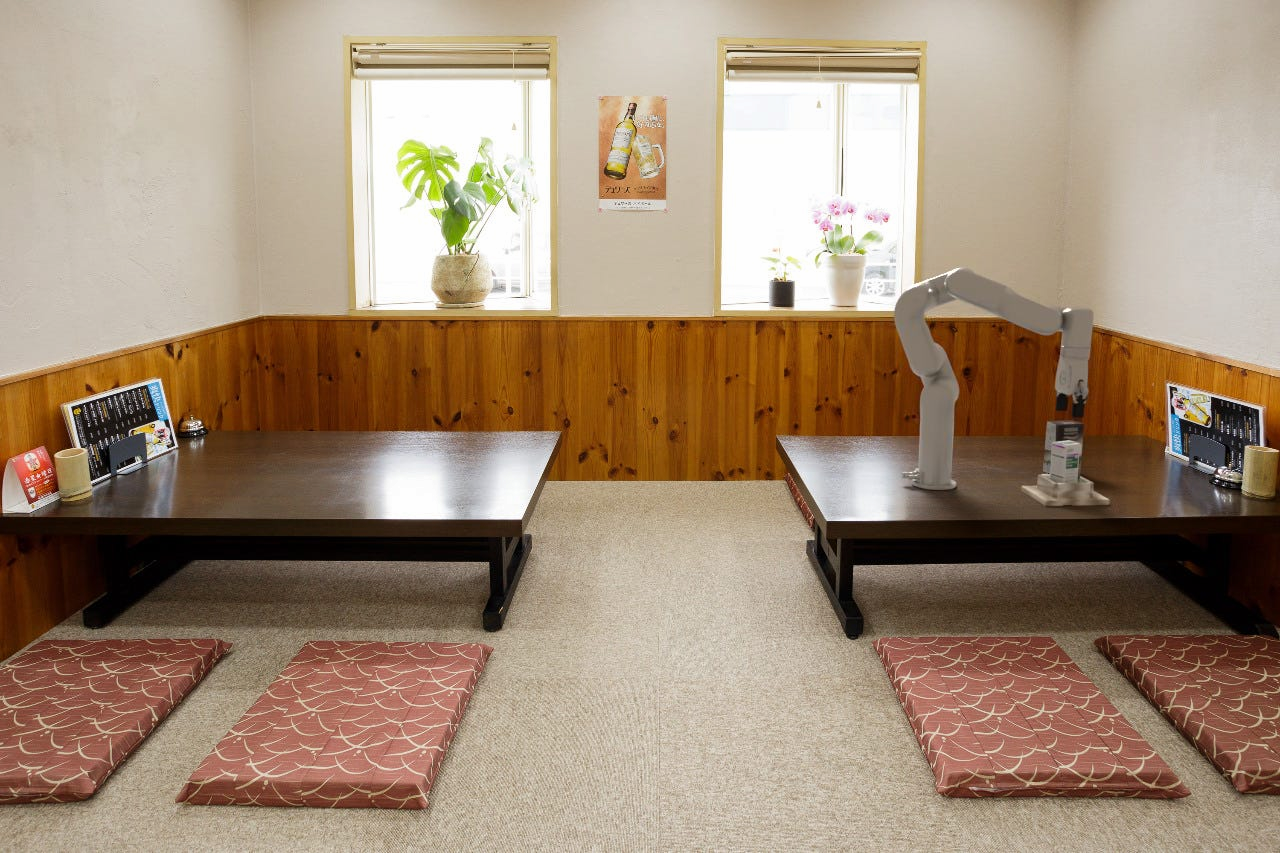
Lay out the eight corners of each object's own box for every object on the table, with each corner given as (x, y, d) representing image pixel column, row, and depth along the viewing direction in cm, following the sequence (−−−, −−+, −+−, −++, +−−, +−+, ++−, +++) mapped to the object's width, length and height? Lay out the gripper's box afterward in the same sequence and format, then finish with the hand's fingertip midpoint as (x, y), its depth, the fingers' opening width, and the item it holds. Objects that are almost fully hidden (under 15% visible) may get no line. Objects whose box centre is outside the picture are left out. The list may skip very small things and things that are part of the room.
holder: (1044, 505, 283) (1046, 486, 282) (1021, 490, 299) (1022, 472, 298) (1109, 504, 284) (1110, 485, 283) (1082, 489, 299) (1083, 471, 298)
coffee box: (1054, 476, 315) (1058, 424, 312) (1042, 471, 321) (1045, 420, 318) (1081, 474, 317) (1085, 423, 314) (1068, 469, 323) (1072, 419, 320)
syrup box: (1062, 495, 288) (1066, 445, 285) (1048, 490, 293) (1051, 440, 290) (1079, 493, 289) (1083, 443, 287) (1064, 488, 295) (1068, 439, 292)
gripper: (1048, 348, 291) (1042, 408, 295) (1076, 357, 275) (1070, 420, 278) (1074, 348, 292) (1068, 408, 295) (1103, 357, 275) (1097, 420, 278)
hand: (1069, 414), depth 287 cm, fingers open, 9 cm apart
